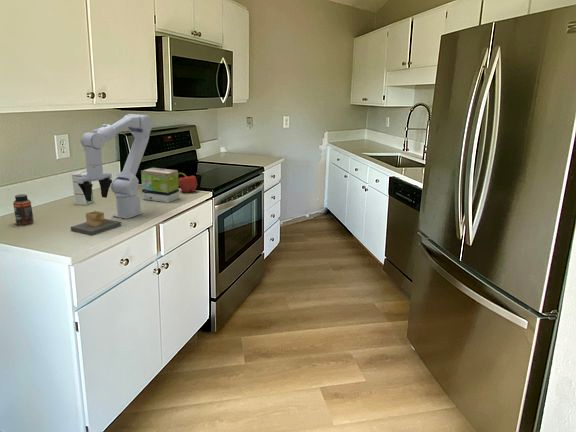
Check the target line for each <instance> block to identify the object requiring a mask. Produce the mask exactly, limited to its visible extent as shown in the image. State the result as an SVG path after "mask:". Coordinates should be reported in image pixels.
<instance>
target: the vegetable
mask: <svg viewBox="0 0 576 432" xmlns="http://www.w3.org/2000/svg"><path fill="white" fill-rule="evenodd" d="M180 175H182V176H184V177H178V183H179V188H180V190H181V191H182V192H183V193H190V192H194V191H196V189H197V187H198V182H197V177H196V176H195V175H190V176H189V175H188V176H187V175H186V174H185V173H183V172H178V176H180Z"/></svg>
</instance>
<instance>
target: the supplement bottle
mask: <svg viewBox="0 0 576 432" xmlns="http://www.w3.org/2000/svg"><path fill="white" fill-rule="evenodd" d="M14 197H15V198H14V199H15V200H14V201H13V203H12V205H13V206H12V207H13V210H14V212H13V213H14V217H15V222H16V224H17V225H19V226H25V225H31V224H32V223H34V215H33V207H32V201H31V199H30V200H29V199H28V195H27V194H26V193H25V194H24V193H23V194H22V193H21V194H17V195H14Z"/></svg>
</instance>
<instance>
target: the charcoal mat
mask: <svg viewBox="0 0 576 432" xmlns="http://www.w3.org/2000/svg"><path fill="white" fill-rule="evenodd" d="M104 219H105V224H102V225H99V226H96V227H94V226H90V225H87V221H86V222H83V223H79V224H75V225H73V226H70V231H71V232H76V233H80V234H83V235H84V234H85V235H87V236H88V235H89V236H95V235H97V234H100V233H103V232H106V231H110V230H112V229H116V228H118V227H121V226H122V223H121V221H117V220H113V219H108V218H104Z"/></svg>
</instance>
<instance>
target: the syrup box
mask: <svg viewBox="0 0 576 432" xmlns="http://www.w3.org/2000/svg"><path fill="white" fill-rule="evenodd" d="M86 175H87V171H78V172H74V173H72V174H71V179H72V180H71V181H72V188H73V194H74V203H75V204H76V205H81V206H87V205H90V204H92V203H94V194H93V190H92V191H91V197H92V199H91V201H86V199H85V196H84V193H83V191H82V190H81V188H80V187H79V185H78V180H77V178H80V177H84V176H86ZM89 183H90V184H93V183H92V181H91V182H89Z"/></svg>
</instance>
